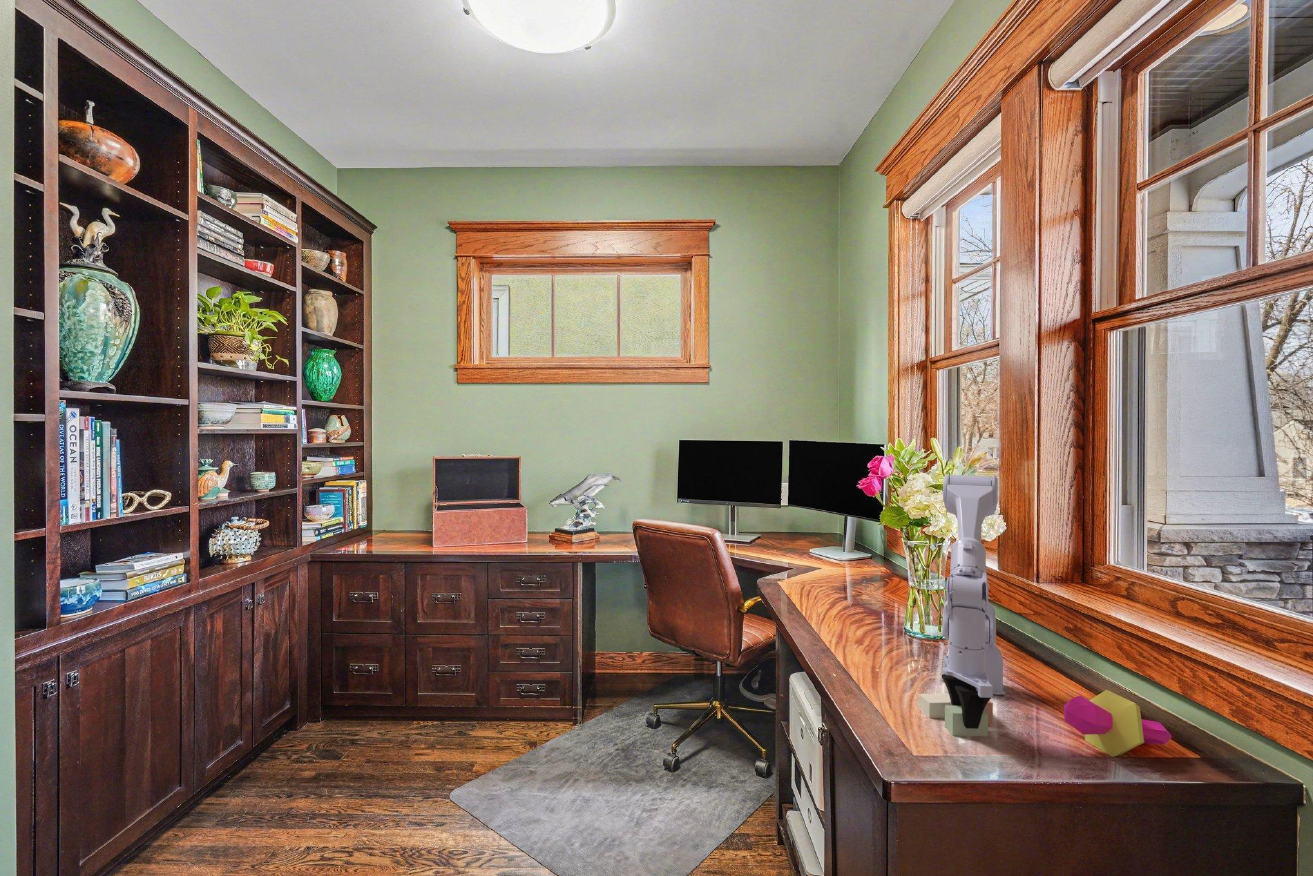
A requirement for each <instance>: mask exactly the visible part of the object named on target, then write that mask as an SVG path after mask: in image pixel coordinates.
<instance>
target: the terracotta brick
mask: <svg viewBox="0 0 1313 876" xmlns="http://www.w3.org/2000/svg"><path fill="white" fill-rule="evenodd" d="M993 706H994V703H993V702H992V700H991V699H990V700H989V701H988V703H987V705H986V706H985V709H984V711H985V712H987V713H988V726H989V725H990V726H993V720H994V719H993V718H994V717H993V716H994V713H993V712H994V707H993Z"/></svg>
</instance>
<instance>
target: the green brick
mask: <svg viewBox="0 0 1313 876" xmlns="http://www.w3.org/2000/svg"><path fill="white" fill-rule="evenodd" d="M944 728H945V730H947V731H948V732H949V734H951V736H954V737H955V736H957V737H988V736H989V725H988V713H987V712H985V711H983V714H982V717H981V721H980V724H979V727H978V729H972V728H966V727H965V726H964V723H963V716H962V707H961V706H951V705H945V718H944Z"/></svg>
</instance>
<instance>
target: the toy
mask: <svg viewBox="0 0 1313 876" xmlns="http://www.w3.org/2000/svg"><path fill="white" fill-rule="evenodd" d="M1063 717H1064V718H1063V719H1064V722H1066V723H1067V724H1069V726H1071V727H1072V728H1074V729H1075V730H1076V731H1077V732H1079V733H1081V734H1082V735H1083V736H1084V741H1086V742H1087V743H1089V744H1091V745H1092V746H1093V747H1096V748H1097V749H1099V750H1100V751H1102V752H1104V753H1106V754H1108V755H1110V757H1119V756H1121V755H1123V754H1126V753H1127V752H1128V751H1129V752H1130V751H1131V750H1133V749H1135V748H1136V747H1138V746H1140V745H1142V744H1144V745H1145V744H1146V745H1168V742H1170V741H1171V739H1172V738H1173V736H1172V735H1171V733H1170V732H1169V731H1168V730H1167V729H1166V727H1165V726H1164V725H1163V724H1162V723H1161V722H1160V721H1156V720H1155V721H1154V720H1148V719H1142V715H1141V706H1139V705H1138V704H1137V703H1136V702H1133V701H1131V700H1130V699H1128V698H1125V697H1123V696H1121V695H1119V694H1116V693H1114V692H1113V691H1110V690H1107V689H1105V690H1104V691H1102V692H1101V693H1099V694H1097V695H1095V696H1093V698H1090V699H1087V698H1086V697H1084V696H1082V695H1078V696H1075V697H1072V698H1070V700H1069V701H1067V702H1065V704H1064V705H1063Z"/></svg>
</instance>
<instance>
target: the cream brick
mask: <svg viewBox="0 0 1313 876" xmlns="http://www.w3.org/2000/svg"><path fill="white" fill-rule="evenodd" d="M945 705H951V700H950V696H949V693H919V694H918V710H920V712H922V713H923V714H924V715H925V716H926V717H927V718H928V719H945ZM951 706H952V705H951Z"/></svg>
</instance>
